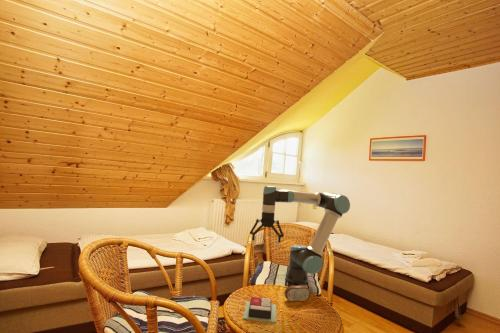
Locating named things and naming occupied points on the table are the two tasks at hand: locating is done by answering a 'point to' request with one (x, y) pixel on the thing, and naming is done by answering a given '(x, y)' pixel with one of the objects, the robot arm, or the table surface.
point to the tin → (297, 293)
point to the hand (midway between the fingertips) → (265, 247)
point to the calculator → (260, 308)
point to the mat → (272, 320)
